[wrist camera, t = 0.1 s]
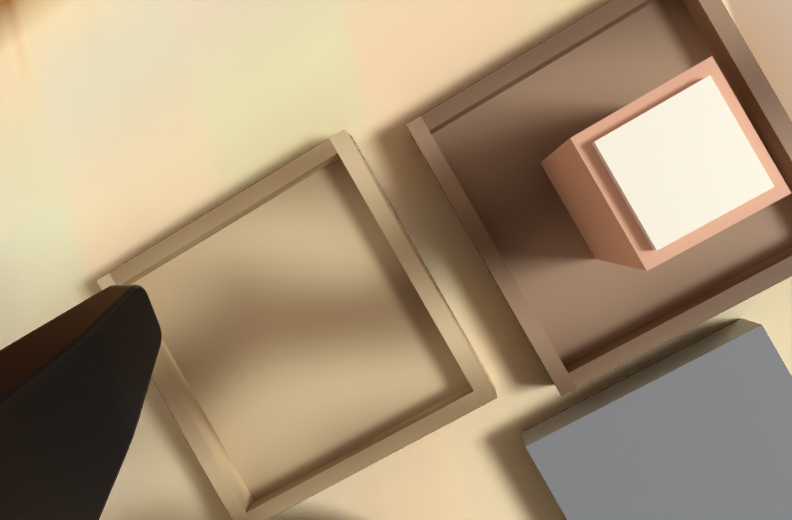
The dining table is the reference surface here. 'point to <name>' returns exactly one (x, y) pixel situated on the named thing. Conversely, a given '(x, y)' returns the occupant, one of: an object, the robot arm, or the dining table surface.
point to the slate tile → (678, 438)
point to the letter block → (665, 171)
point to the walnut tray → (546, 213)
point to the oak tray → (302, 333)
